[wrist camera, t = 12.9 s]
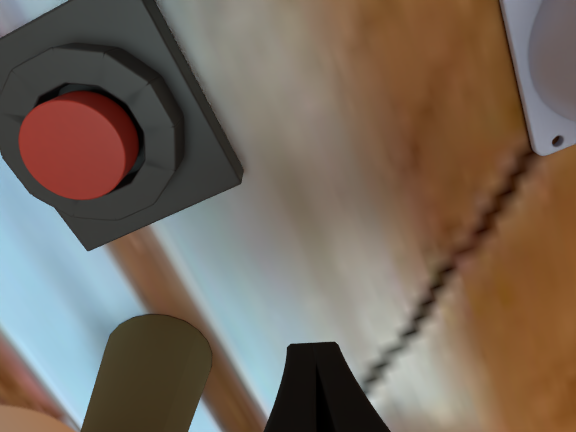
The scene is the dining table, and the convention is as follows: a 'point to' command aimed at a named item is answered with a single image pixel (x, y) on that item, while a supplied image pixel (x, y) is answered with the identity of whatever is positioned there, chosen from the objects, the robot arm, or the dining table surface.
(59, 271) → the dining table surface
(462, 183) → the dining table surface
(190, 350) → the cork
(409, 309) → the dining table surface
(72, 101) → the button
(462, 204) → the dining table surface
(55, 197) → the button housing
